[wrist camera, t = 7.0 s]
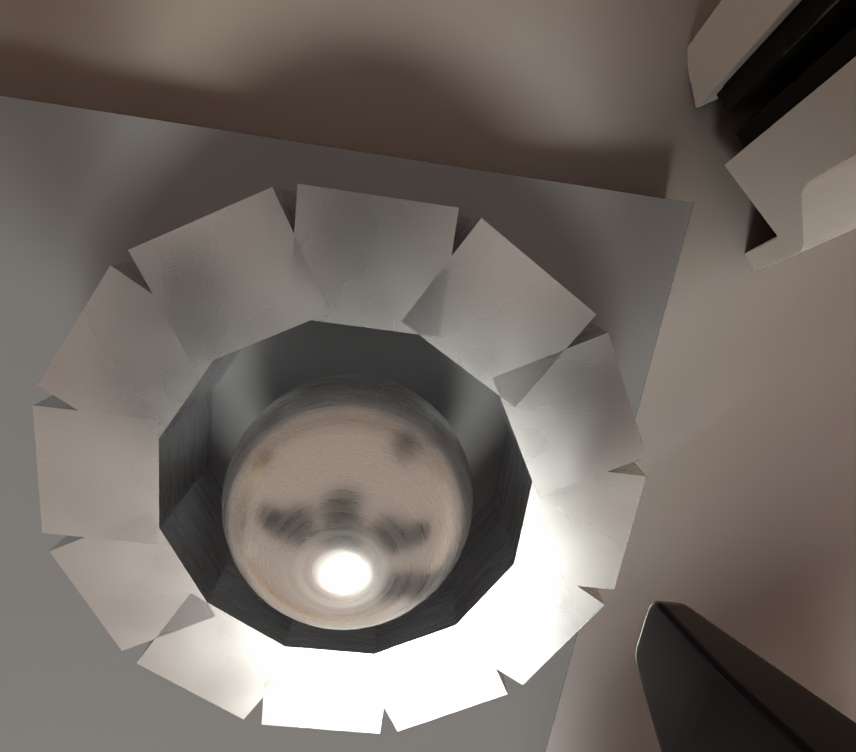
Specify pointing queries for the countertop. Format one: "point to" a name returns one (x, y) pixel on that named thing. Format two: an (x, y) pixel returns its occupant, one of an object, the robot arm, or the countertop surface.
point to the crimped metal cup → (202, 490)
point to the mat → (258, 392)
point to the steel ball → (347, 502)
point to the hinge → (787, 113)
